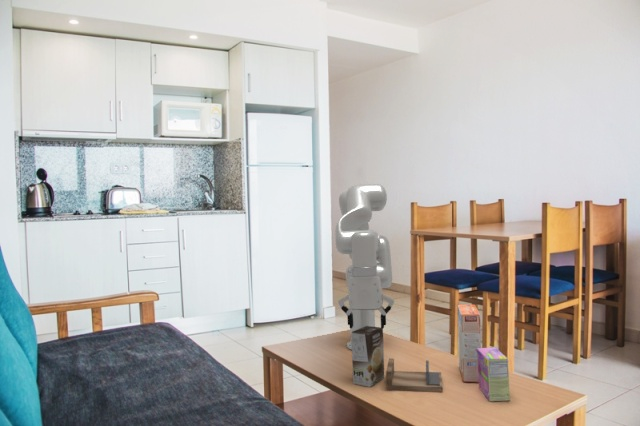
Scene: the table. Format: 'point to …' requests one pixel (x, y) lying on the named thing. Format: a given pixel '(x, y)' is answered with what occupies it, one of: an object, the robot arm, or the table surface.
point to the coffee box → (367, 356)
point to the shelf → (409, 380)
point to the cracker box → (469, 342)
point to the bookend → (432, 376)
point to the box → (493, 374)
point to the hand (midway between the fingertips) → (367, 327)
